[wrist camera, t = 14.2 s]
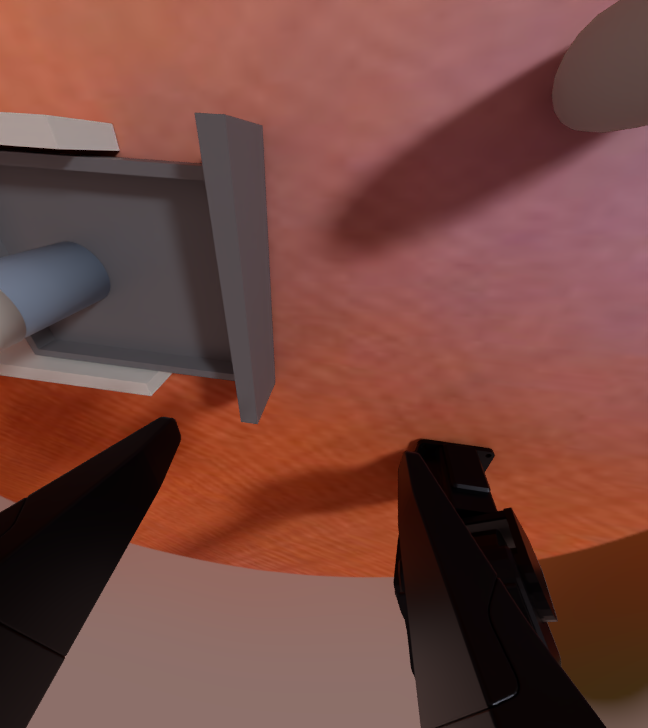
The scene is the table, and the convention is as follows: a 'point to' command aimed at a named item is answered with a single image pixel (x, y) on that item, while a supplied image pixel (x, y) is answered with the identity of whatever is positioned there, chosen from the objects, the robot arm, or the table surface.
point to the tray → (158, 255)
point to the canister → (47, 288)
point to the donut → (606, 72)
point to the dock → (21, 356)
